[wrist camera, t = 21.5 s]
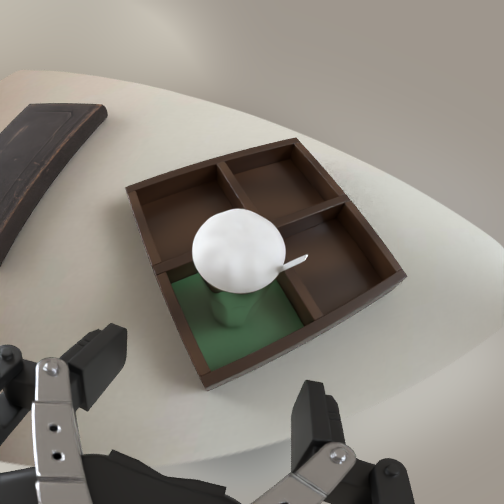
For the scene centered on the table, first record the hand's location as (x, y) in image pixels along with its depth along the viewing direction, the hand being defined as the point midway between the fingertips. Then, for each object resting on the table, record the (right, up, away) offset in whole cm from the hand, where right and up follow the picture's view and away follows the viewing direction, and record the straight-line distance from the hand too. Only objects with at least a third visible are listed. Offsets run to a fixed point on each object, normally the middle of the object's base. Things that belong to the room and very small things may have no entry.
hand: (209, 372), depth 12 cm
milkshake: (+1, +1, +10) cm, 10 cm away
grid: (+2, +5, +13) cm, 15 cm away
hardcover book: (-27, +15, +16) cm, 35 cm away
